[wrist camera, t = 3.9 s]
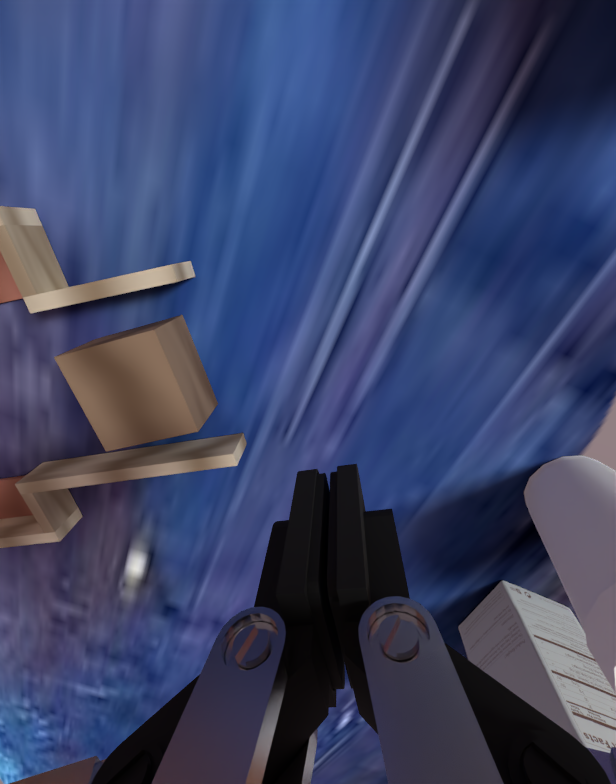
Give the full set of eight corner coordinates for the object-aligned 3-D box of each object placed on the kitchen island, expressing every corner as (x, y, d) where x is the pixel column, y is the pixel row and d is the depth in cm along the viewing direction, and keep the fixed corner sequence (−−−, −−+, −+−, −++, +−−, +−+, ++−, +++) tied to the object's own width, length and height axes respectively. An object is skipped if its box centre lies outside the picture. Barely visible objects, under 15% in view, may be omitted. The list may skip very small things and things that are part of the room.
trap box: (164, 174, 23) (140, 166, 20) (262, 494, 31) (254, 519, 29) (-219, 275, 27) (-282, 279, 24) (-38, 530, 36) (-69, 555, 33)
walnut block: (183, 314, 26) (154, 329, 22) (218, 402, 29) (198, 431, 24) (97, 338, 27) (53, 357, 23) (138, 421, 30) (105, 451, 26)
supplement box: (520, 651, 37) (604, 844, 25) (455, 625, 36) (510, 812, 24) (572, 606, 34) (694, 800, 22) (502, 576, 33) (591, 762, 21)
